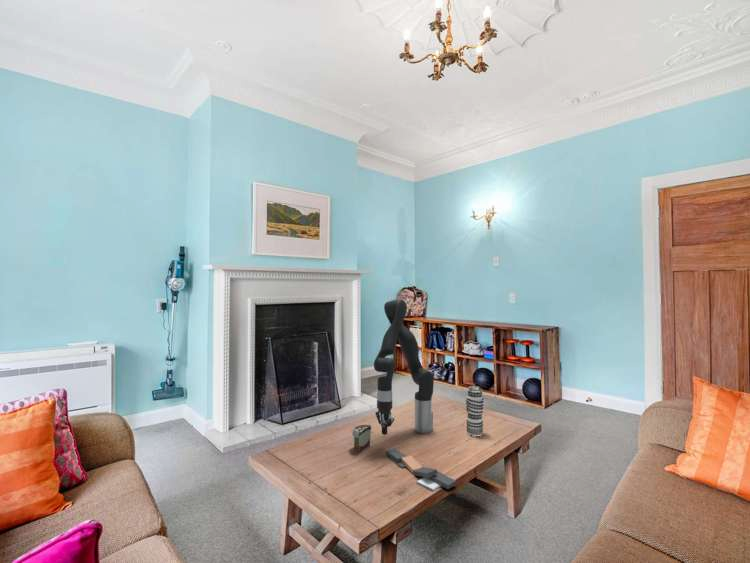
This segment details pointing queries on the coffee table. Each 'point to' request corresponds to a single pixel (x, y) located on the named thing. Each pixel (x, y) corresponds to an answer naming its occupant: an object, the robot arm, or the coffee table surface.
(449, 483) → the domino
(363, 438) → the food container
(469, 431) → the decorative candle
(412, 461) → the domino
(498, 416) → the coffee table surface
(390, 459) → the domino
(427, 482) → the external hard drive
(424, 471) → the domino
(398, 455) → the domino
